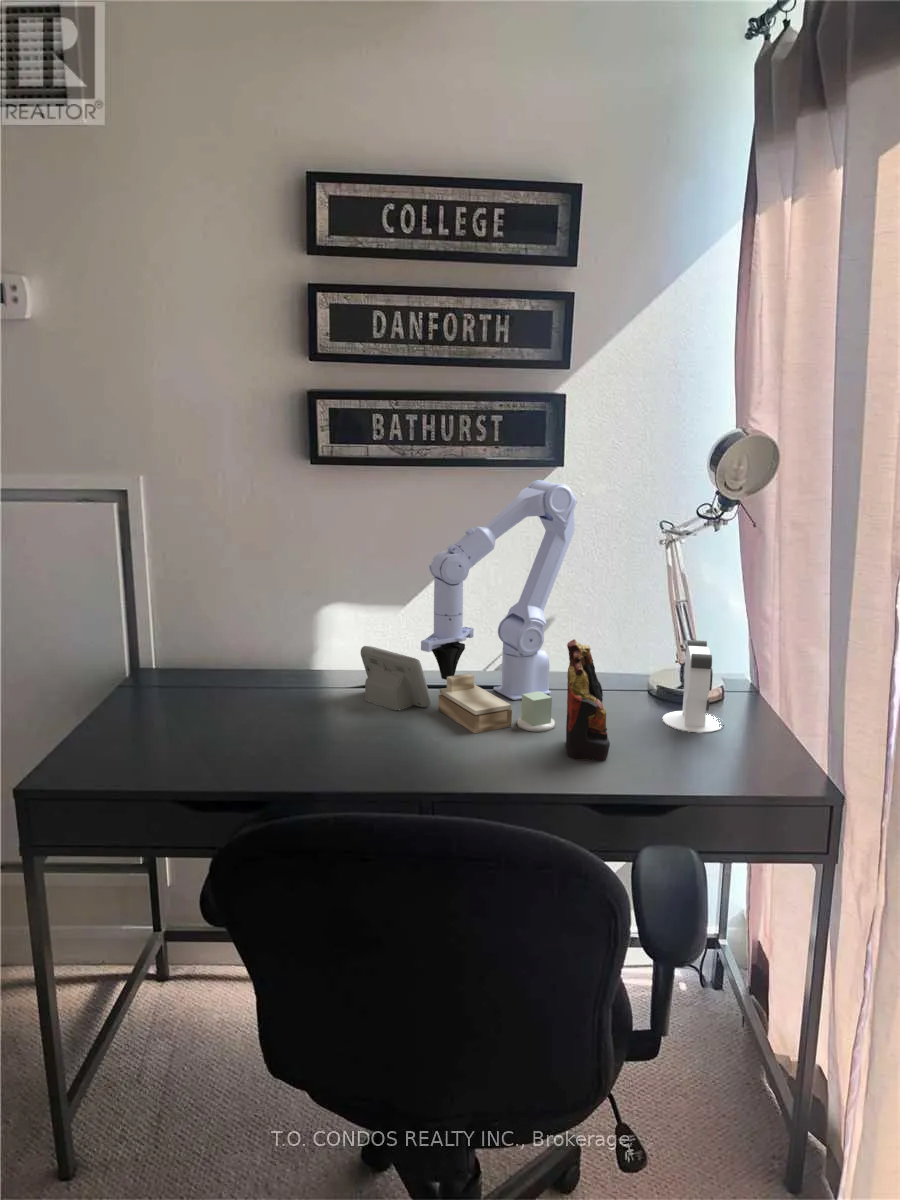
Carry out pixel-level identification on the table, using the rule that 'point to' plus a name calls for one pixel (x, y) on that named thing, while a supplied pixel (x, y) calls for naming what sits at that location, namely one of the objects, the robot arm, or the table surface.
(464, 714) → the pencil box
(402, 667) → the digital clock
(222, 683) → the table surface
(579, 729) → the statue
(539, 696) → the green block
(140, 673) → the table surface
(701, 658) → the white post on disc
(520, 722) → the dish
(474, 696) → the lid
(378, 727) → the table surface
